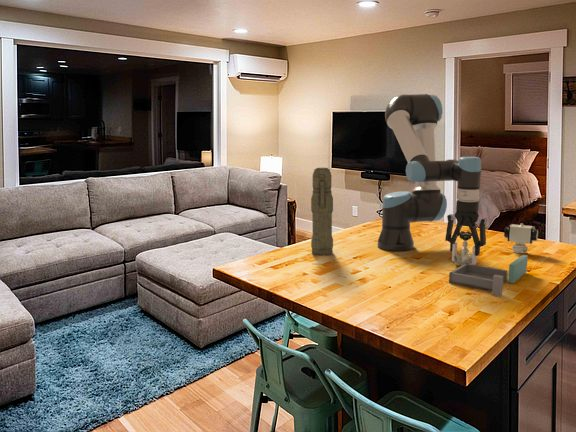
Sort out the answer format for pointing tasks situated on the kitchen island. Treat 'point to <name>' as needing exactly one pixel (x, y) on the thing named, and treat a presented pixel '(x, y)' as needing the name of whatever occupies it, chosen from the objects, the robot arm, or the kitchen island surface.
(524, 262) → the gate
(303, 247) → the kitchen island surface
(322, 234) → the grey carved statue
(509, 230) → the pneumatic valve
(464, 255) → the valve
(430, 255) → the kitchen island surface
